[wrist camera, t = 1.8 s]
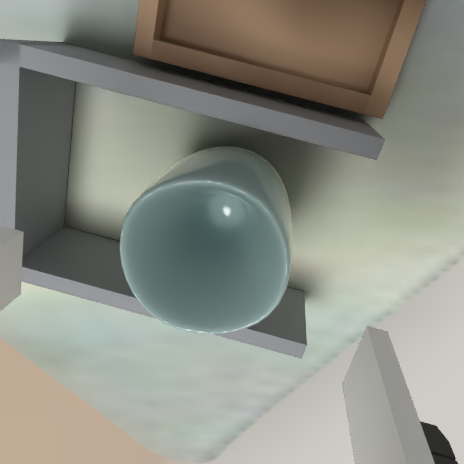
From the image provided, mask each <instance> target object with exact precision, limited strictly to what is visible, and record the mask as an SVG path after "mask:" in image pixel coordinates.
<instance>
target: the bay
mask: <svg viewBox="0 0 464 464" xmlns="http://www.w3.org/2000/svg"><path fill="white" fill-rule="evenodd" d="M76 82H80V83H84V84H88V85H92V86H96V87H99V88H103V89H107V90H111V91H115V92H118V93H122V94H126V95H130V96H134V97H138V98H141V99H145V100H149V101H153V102H157V103H160V104H164V105H168V106H172V107H176V108H180V109H183V110H187V111H191V112H195V113H199V114H202V115H206V116H210V117H214V118H218V119H222V120H225V121H229V122H233V123H237V124H241V125H244V126H248V127H252V128H256V129H260V130H264V131H267V132H271V133H275V134H279V135H283V136H286V137H290V138H294V139H298V140H302V141H306V142H309V143H313V144H317V145H321V146H325V147H328V148H332V149H336V150H340V151H344V152H348V153H351V154H355V155H359V156H363V157H367V158H370V159H374V160H377V158H378V156H379V153H380V151H381V148H382V145H383V143H384V140H385V139H384V138H383V137H382V136H381V135H380V134H378V133H377V132H376V131H375V130H374V129H373V128H372V127H371V126H370V125H369V124H368V123H366V122H365V121H364V120H360V119H356V118H352V117H348V116H344V115H341V114H337V113H333V112H329V111H325V110H321V109H318V108H314V107H310V106H306V105H302V104H298V103H294V102H291V101H287V100H283V99H279V98H275V97H271V96H267V95H264V94H260V93H256V92H252V91H248V90H244V89H240V88H237V87H233V86H229V85H225V84H221V83H217V82H213V81H210V80H206V79H202V78H198V77H194V76H190V75H187V74H183V73H179V72H175V71H171V70H167V69H163V68H160V67H156V66H152V65H148V64H144V63H140V62H136V61H133V60H129V59H125V58H121V57H117V56H113V55H109V54H106V53H102V52H98V51H94V50H90V49H86V48H82V47H79V46H75V45H71V44H67V43H63V42H47V41H28V40H9V39H0V229H1V228H2V227H8V228H12V229H15V230H19V231H23V232H24V235H23V255H22V276H21V281H22V282H26V283H29V284H33V285H37V286H40V287H44V288H48V289H51V290H55V291H58V292H62V293H66V294H69V295H73V296H77V297H80V298H84V299H87V300H91V301H95V302H98V303H102V304H106V305H109V306H113V307H116V308H120V309H124V310H127V311H131V312H135V313H138V314H142V315H145V316H149V317H153V318H156V317H154V316H153V315H151V314H150V313H149V312H148V311H147V310H146V309H145V308H144V307H143V306H142V305H141V304H140V302H139V301H138V300H137V298H136V297H135V295H134V294H133V293H132V290H131V288H130V286H129V284H128V282H127V280H126V278H125V274H124V271H123V268H122V264H121V257H120V242H119V241H116V240H112V239H108V238H105V237H101V236H97V235H94V234H90V233H86V232H83V231H79V230H75V229H72V228H68V227H64V220H65V207H66V195H67V183H68V170H69V158H70V145H71V133H72V121H73V108H74V96H75V83H76ZM156 319H157V318H156ZM214 335H218V336H221V337H225V338H229V339H232V340H236V341H240V342H243V343H247V344H250V345H254V346H258V347H261V348H265V349H269V350H272V351H276V352H279V353H283V354H287V355H290V356H294V357H298V358H301V359H302V356H303V354H304V351H305V348H306V346H307V340H306V321H305V301H304V292H303V291H300V290H296V289H292V288H289V287H287V288H286V291H285V293H284V295H283V297H282V299H281V301H280V303H279V304H278V305H277V307H276V308H275V309H274V310H273V311H272V313H271V314H270V315H269V316H267V317H266V318H264V319H263V320H262V321H260V322H259V323H257V324H255V325H252V326H250V327H248V328H245V329H243V330H238V331H234V332H229V333H220V334H214Z"/></svg>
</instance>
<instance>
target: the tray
mask: <svg viewBox="0 0 464 464" xmlns="http://www.w3.org/2000/svg"><path fill="white" fill-rule="evenodd" d="M425 3H426V0H140V1H139V9H138V16H137V24H136V32H135V40H134V47H133V55H137V56H141V57H145V58H149V59H153V60H156V61H160V62H164V63H168V64H172V65H176V66H180V67H184V68H187V69H191V70H195V71H199V72H203V73H207V74H211V75H214V76H218V77H222V78H226V79H230V80H234V81H238V82H241V83H245V84H249V85H253V86H257V87H261V88H265V89H268V90H272V91H276V92H280V93H284V94H288V95H292V96H295V97H299V98H303V99H307V100H311V101H315V102H319V103H322V104H326V105H330V106H334V107H338V108H342V109H346V110H349V111H353V112H357V113H361V114H365V115H369V116H373V117H376V118H380V119H383V117H384V114H385V111H386V108H387V106H388V103H389V100H390V98H391V95H392V92H393V89H394V87H395V84H396V81H397V79H398V76H399V73H400V71H401V68H402V65H403V62H404V60H405V57H406V54H407V52H408V49H409V46H410V44H411V41H412V38H413V35H414V33H415V30H416V27H417V25H418V22H419V19H420V16H421V14H422V11H423V8H424V6H425Z"/></svg>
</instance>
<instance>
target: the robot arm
mask: <svg viewBox="0 0 464 464" xmlns="http://www.w3.org/2000/svg"><path fill="white" fill-rule="evenodd" d="M23 235H24V232H23V231H19V230H15V229H12V228H8V227H2V228H1V229H0V311H1V310H2V309H4V308H5V307H6V306H7V305H8V304H9V303H11V302H12V301H13V300H14V299H15V298H16V297H18V296H19V295H20V294H21V276H22V255H23ZM342 385H343V392H344V398H345V405H346V411H347V417H348V423H349V430H350V436H351V442H352V449H353V455H354V461H355V464H458V463H457V461H455V455H454V453H453V451H452V448H451V446H450V444H449V441H448V440H447V439H446V438H445V436H444V435H443V434H442V433H441V431H440V430H439V429H438V427H437V426H435V425H431V424H428V423H424V422H420V421H419V418H418V415H417V412H416V410H415V407H414V404H413V401H412V398H411V396H410V393H409V390H408V387H407V384H406V382H405V379H404V376H403V373H402V370H401V368H400V365H399V362H398V359H397V357H396V354H395V351H394V348H393V345H392V342H391V340H390V337H389V334H388V332H387V331H384V330H380V329H376V328H373V327H369V326H367V327H366V330H365V332H364V334H363V336H362V339H361V341H360V343H359V346H358V348H357V350H356V353H355V355H354V357H353V360H352V362H351V364H350V367H349V369H348V371H347V373H346V376H345V378H344V380H343V383H342Z"/></svg>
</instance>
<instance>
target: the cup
mask: <svg viewBox="0 0 464 464" xmlns="http://www.w3.org/2000/svg"><path fill="white" fill-rule="evenodd" d="M120 257H121V264H122V268H123V271H124V274H125V278H126V280H127V282H128V284H129V286H130V288H131V290H132V293H133V294H134V295H135V297H136V298H137V300H138V301H139V302H140V304H141V305H142V306H143V307H144V308H145V309H146V310H147V311H148V312H149V313H150V314H151V315H153V316H154V317H156V318H157V319H159V320H160V321H162V322H164V323H165V324H167V325H170V326H173V327H175V328H178V329H180V330H185V331H189V332H194V333H204V334H220V333H229V332H234V331H238V330H243V329H245V328H248V327H250V326H252V325H255V324H257V323H259V322H260V321H262V320H263V319H264V318H266V317H267V316H269V315H270V314H271V313H272V311H273V310H274V309H275V308H276V307H277V305H278V304H279V303H280V301H281V299H282V297H283V295H284V293H285V291H286V288H287V285H288V281H289V277H290V273H291V265H292V217H291V210H290V202H289V198H288V195H287V191H286V188H285V185H284V183H283V181H282V179H281V177H280V175H279V174H278V172H277V170H276V169H275V168H274V167H273V166H272V165H271V164H270V162H269V161H268V160H266V159H265V158H263V157H262V156H260V155H259V154H257V153H255V152H252V151H250V150H247V149H243V148H238V147H221V146H220V147H213V148H207V149H204V150H201V151H198V152H195V153H192V154H190V155H188V156H187V157H185V158H183V159H181V160H180V161H178V162H176V163H175V164H173V165H172V166H171V167H169V168H168V169H167V170H166V171H165V172H163V173H162V174H161V175H160V176H159V177H158V178H157V179H156V180H155V181H154V182H153V183H152V184H150V185H149V186H148V187H147V188H146V189H145V190H144V191H143V192H142V193H141V194H140V195H139V196H138V197H137V198H136V199H135V201H134V202H133V204H132V206H131V207H130V209H129V211H128V213H127V214H126V216H125V219H124V223H123V226H122V230H121V234H120Z"/></svg>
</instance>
